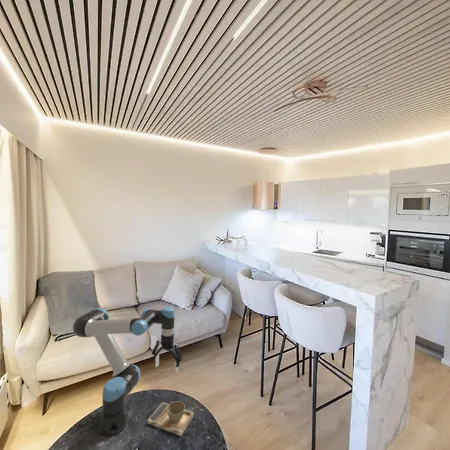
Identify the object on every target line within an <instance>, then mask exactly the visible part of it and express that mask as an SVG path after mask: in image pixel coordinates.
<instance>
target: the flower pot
mask: <svg viewBox="0 0 450 450" xmlns="http://www.w3.org/2000/svg"><path fill="white" fill-rule="evenodd" d="M185 407H186V406H185V403H184V402H183V401H177V400H176V401H175V400H174V401H172V402H170V403H169V405H168V407H167V412H168V416H169V418H170V420H171V422H173V423H177V422H179V421H180V419H181V418H182V416H183V413H184V410H186V409H185Z"/></svg>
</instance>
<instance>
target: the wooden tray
mask: <svg viewBox="0 0 450 450" xmlns="http://www.w3.org/2000/svg"><path fill="white" fill-rule="evenodd" d="M169 404H170V403H169ZM169 404H168V403H167V402H164V401H163V402H161V403H160V404H159V406H158V407H157V408H156V410H154V412H153V413H152V414H151V415H150V416H149V418H148V419H147V424H148V425H151V426H153V427H156V428H158V429H161V430H163V431H167V432H169V433H172V434H174V435H177V436H180V437H182V435H183V433H185V430H186V428H187V427H188V426H189V424H190V422H191V421H192V419H193V417H194V412H193V411H190V410H187V409H184V413H183V416H182V418H181V419H180V421H179V422H177V423H173V422H171V420H170V418H169V416H168V412H167V407H168V405H169Z"/></svg>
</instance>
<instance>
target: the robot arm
mask: <svg viewBox="0 0 450 450" xmlns="http://www.w3.org/2000/svg"><path fill="white" fill-rule="evenodd" d="M175 317H176V315H175V308H174V307H173V306H172V307H171V306H165V307H162V309H161V310H158V309H151V308H149V309H144V310H143V311H142V312H141V317H138V318H137V317H134V318H120V319H119V318H118V319H117V318H116V319H109V318H110V315H109V312H108V311H107V310H105V309H104V308H101V307H98V308H95V309H91V310H90V311H88V312H86V313H84V314H83V315H81V316H79V317H77V319H75V320H74V323H73V325H72V331H73V333H74V335H75V336H77V337H79V338H91V337H94V338H95V340H96V342H97V344H98V345H99V348H100V349H101V351H102V353H103V355H104V357H105V359H106V360H107V362H108V364H109V366H110V368H111V370H112V371H113V373H112V378H111V379H109V380H108V381H106V382H105V384H104V386H103V388H102V410H101V411H102V412H101V415H100V418H99V422H98V429H97V430H98V432H99V434H101V435H102V436H107V437H110V436H114V435H118V433H121V431H123V430H125V428H126V427H127V425H128V421H129V414H128V413H127V409H126V398H127V396H128V395H129V394H130V393H131V392H132V390H133V389H134V388H135V387H136V386H137V384H138V382H139V381H140V380H141V371H140V368H139V367H138V366H137V365H135V364H132V362H131V361H128V360H127V359H126V357H125V356H124V354H123V352H122V350H121V349H120V346H119V345H118V343H117V341H116V339H115V337H114V336H113V335H116V334H120V335H121V334H133V335H134V336H137V337H138V336H141V335H143V334H145V333H146V332H147V331H148V330H149V329H150V328H151V327H152V326H153V325H155V324H156V325H160V326H161V327H160V328H161V329H160V330H161V331H160V332H161V333H160V334H161V335H160V338H159V339H157V340H156V341H155V345H154V348H153V349H152V351H151V355H153V356H154V365H155V366H154V368H157V367H158V366H159V365H160V354H159V353H160V352H162V350H165V351H168V352H169V353H171V355H172V357H173V359H174V374H176V373H178V371H179V367H180V363H181V362H182V361H183V360H184V358H183V356H182V353H181V350H180V348H179V343H174V340H175V334H174V333H175V319H176V318H175ZM160 345H161V346H160ZM159 346H160V347H159ZM158 348H159V349H158Z"/></svg>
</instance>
